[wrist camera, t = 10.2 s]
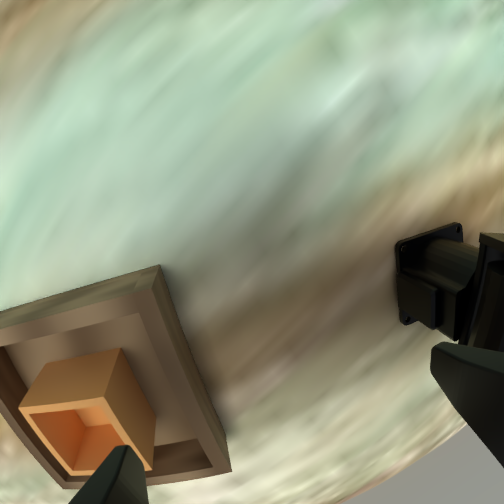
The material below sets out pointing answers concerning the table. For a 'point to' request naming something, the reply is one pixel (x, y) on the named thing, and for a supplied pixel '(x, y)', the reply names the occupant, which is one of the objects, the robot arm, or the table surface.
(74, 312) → the walnut crate
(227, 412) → the table surface
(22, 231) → the table surface
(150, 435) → the small crate
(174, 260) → the table surface
